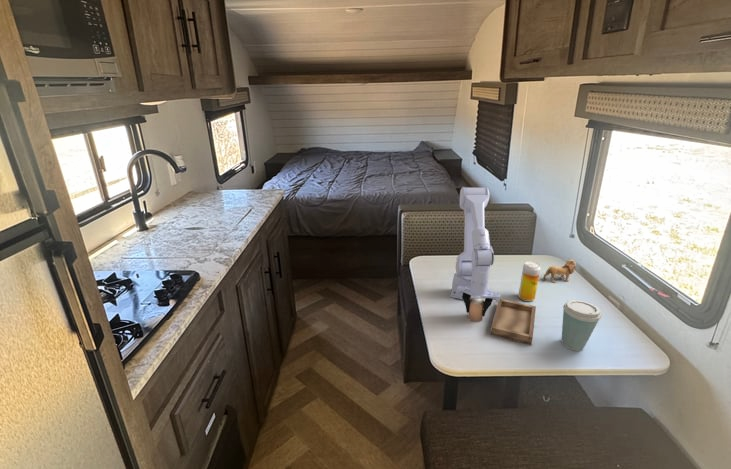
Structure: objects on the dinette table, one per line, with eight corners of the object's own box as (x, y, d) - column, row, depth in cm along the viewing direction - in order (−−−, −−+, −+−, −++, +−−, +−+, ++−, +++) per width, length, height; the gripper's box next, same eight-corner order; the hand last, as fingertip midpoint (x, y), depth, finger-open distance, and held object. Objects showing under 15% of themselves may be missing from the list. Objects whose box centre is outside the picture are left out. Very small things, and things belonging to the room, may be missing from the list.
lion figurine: (567, 275, 166) (571, 257, 163) (576, 281, 161) (580, 262, 158) (538, 279, 163) (542, 260, 160) (546, 285, 158) (550, 266, 155)
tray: (490, 334, 128) (491, 327, 127) (498, 305, 145) (499, 298, 144) (531, 345, 123) (532, 337, 122) (534, 313, 139) (535, 306, 138)
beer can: (536, 302, 146) (542, 268, 140) (519, 301, 147) (525, 267, 141) (532, 294, 151) (539, 261, 146) (517, 293, 153) (522, 260, 147)
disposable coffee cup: (550, 334, 128) (558, 296, 122) (582, 334, 128) (591, 296, 122) (564, 355, 118) (574, 315, 112) (599, 355, 118) (610, 315, 112)
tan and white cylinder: (466, 319, 136) (468, 302, 134) (469, 312, 140) (471, 296, 138) (481, 323, 134) (483, 306, 132) (483, 315, 138) (485, 299, 136)
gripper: (456, 281, 131) (453, 314, 136) (499, 290, 125) (494, 324, 130) (460, 272, 137) (457, 304, 142) (502, 280, 131) (497, 313, 136)
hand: (475, 313), depth 137 cm, fingers closed on tan and white cylinder, 5 cm apart
